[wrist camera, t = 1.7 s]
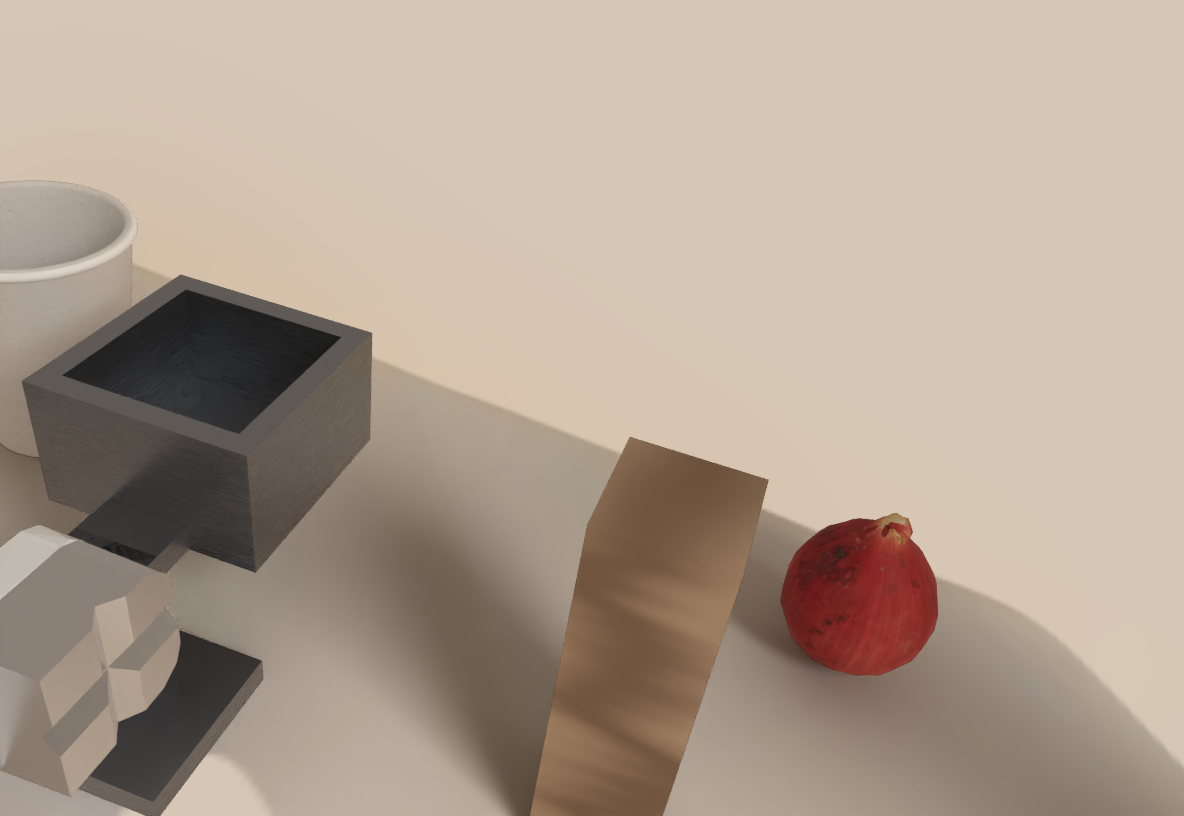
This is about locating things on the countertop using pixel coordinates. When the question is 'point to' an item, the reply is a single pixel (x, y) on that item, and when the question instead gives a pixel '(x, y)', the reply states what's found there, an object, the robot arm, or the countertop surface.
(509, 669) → the countertop surface
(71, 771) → the robot arm
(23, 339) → the dixie cup
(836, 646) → the onion
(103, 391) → the box
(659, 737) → the rail post
